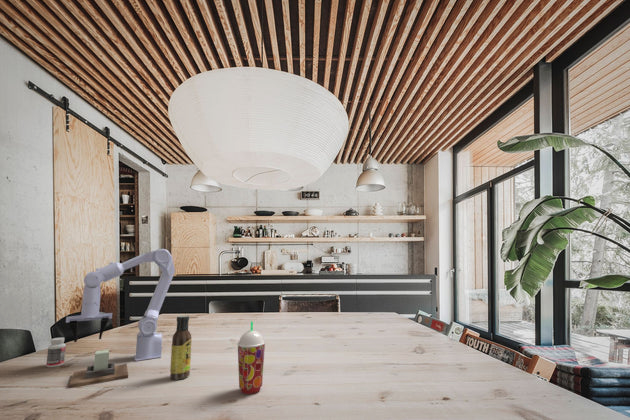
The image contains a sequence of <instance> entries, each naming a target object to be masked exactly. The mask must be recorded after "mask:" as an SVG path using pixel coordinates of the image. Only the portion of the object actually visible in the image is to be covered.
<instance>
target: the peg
mask: <svg viewBox="0 0 630 420" xmlns="http://www.w3.org/2000/svg"><path fill="white" fill-rule="evenodd" d="M109 357H110V349H105V350H104V349H103V350H97V351H95V353H94V362H93V363H94V371H95V370H102V369H108V363H109Z"/></svg>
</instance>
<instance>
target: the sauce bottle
mask: <svg viewBox="0 0 630 420" xmlns="http://www.w3.org/2000/svg"><path fill="white" fill-rule="evenodd" d="M189 321H190V315H187V314H185V315H184V314H183V315H182V314H181V315H177V316H176V330H175V332H174V334H173V335H172V340H171V351H170V355H171V356H170V370H169V371H170V375H169V376H170V377H169V378H170V379H171V380H183V379H186V378H188V377H189V376H190V373H191V356H192V334H191V332H190V331H189Z"/></svg>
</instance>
